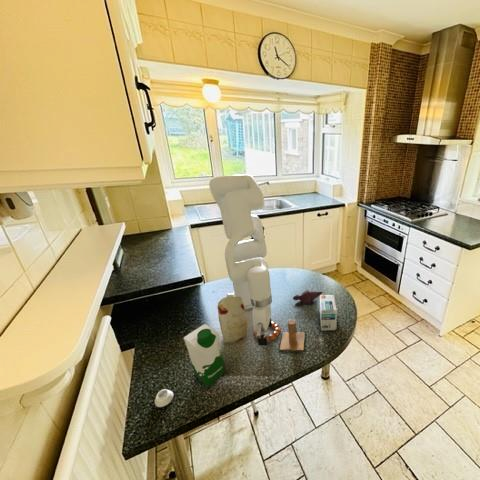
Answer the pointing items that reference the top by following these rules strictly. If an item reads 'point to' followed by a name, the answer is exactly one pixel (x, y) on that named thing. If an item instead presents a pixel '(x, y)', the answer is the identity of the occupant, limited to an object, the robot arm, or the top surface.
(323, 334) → the top surface
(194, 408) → the top surface
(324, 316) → the light bulb box
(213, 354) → the milk carton
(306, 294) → the dinosaur toy
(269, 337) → the ring
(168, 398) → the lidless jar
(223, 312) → the food model
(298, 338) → the stand
